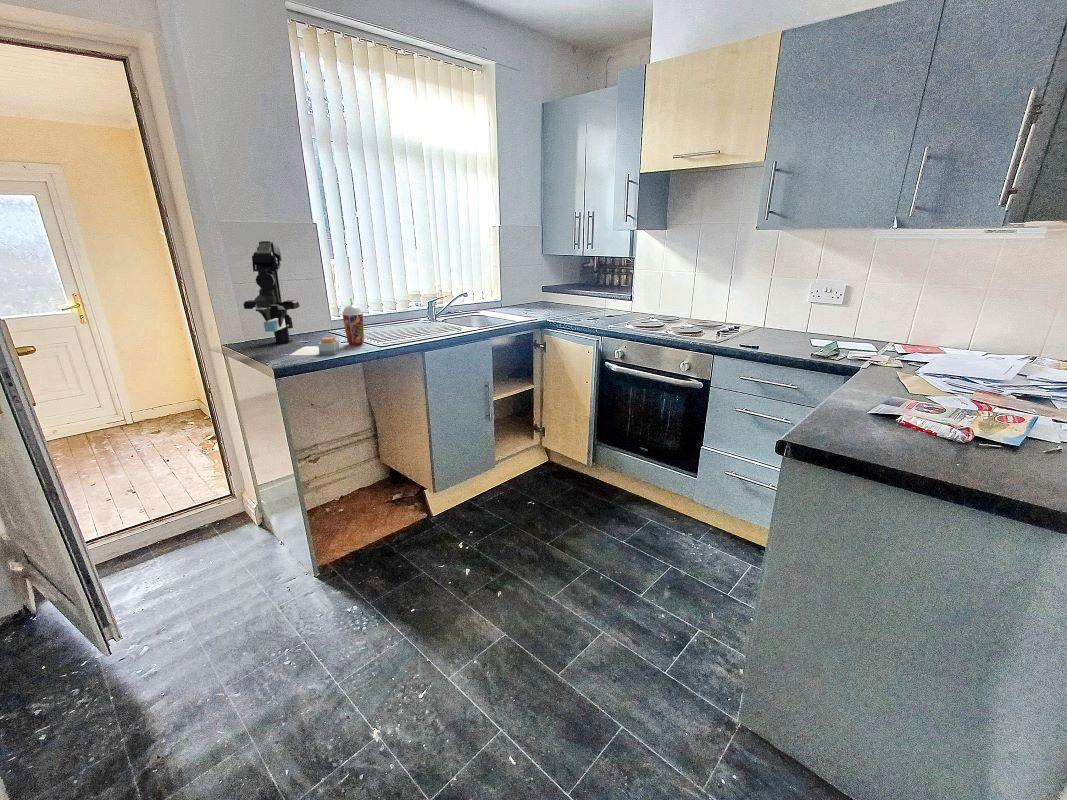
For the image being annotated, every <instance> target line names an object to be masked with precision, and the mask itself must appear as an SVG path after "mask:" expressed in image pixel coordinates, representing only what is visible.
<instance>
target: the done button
mask: <svg viewBox="0 0 1067 800" xmlns="http://www.w3.org/2000/svg"><path fill="white" fill-rule="evenodd" d="M335 338H336V337H335V336H333V337H332V336H330V337H329V336H326V337H322V338H321V339H320V342H321V343H334V342H335V340H336V339H335Z"/></svg>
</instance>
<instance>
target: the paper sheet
mask: <svg viewBox="0 0 1067 800" xmlns="http://www.w3.org/2000/svg"><path fill="white" fill-rule="evenodd" d="M318 355H320V354H319V347H318V345H317V346H312V345H311V346H307V345H306V346H303V347H300V348H299V349H297V350H295V351H294V352H292V353H290V354H289V356H318Z"/></svg>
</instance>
